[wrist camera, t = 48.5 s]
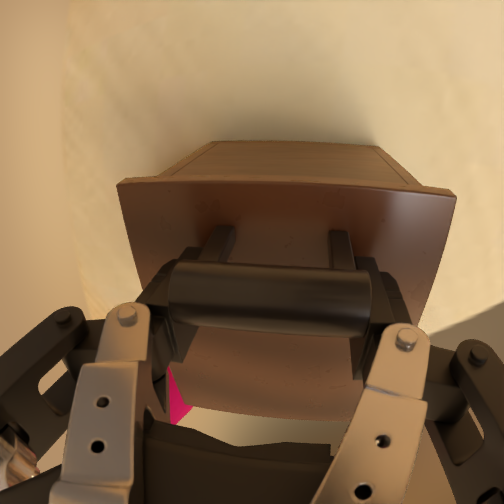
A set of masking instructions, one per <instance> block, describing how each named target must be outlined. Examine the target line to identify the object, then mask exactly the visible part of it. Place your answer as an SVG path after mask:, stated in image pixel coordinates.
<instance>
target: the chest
mask: <svg viewBox="0 0 504 504" xmlns="http://www.w3.org/2000/svg"><path fill="white" fill-rule="evenodd" d="M178 175H283V176H309V177H328V178H344V179H358V180H370V181H382V182H392V183H402V184H411V185H420V186H422V185H421V184H420V183H419V182H418V181H417V180H416V179H415V178H414V177H413V176H412V175H411V174H410V173H409V172H408V171H406V170H405V169H404V168H403V167H402V166H401V165H400V164H399V163H398V162H397V161H395V160H394V159H393V158H392V157H391V156H390V155H389V154H387V153H386V152H385V151H384V150H383V149H381V148H380V147H376V146H366V145H354V144H341V143H326V142H305V141H214V142H210V143H209V144H207V145H205V146H204V147H202V148H200V149H199V150H197V151H196V152H194V153H192V154H191V155H189V156H188V157H186V158H184V159H183V160H181V161H180V162H178V163H177V164H175V165H173V166H172V167H170V168H169V169H167V170H166V171H164V172H163V173H161V174H160V175H158V176H178Z"/></svg>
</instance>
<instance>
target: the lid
mask: <svg viewBox="0 0 504 504" xmlns="http://www.w3.org/2000/svg"><path fill="white" fill-rule="evenodd" d="M116 187H117V192H118V196H119V201H120V206H121V210H122V214H123V219H124V223H125V227H126V231H127V235H128V239H129V243H130V247H131V250H132V254H133V258H134V261H135V265H136V269H137V272H138V275H139V279H140V282H141V286H142V289H143V290H144V289H145V287H146V286H147V285H148V284H149V282H151V280H152V278H153V277H154V276H155V275H156V273H157V272H158V271H159V269H160V268H161V267H162V266H163V265H164V264H166V263H167V262H169V261H170V260H172V259H178V258H179V257H180V255H181V254H182V252H183V251H184V250H185V248H186V247H188V246H189V247H204V248H203V250H202V252H201V254H200V255H199V257H198V259H197V260H187V259H183V260H180V261H179V262H178V263H177V264H176V265H175V267H174V269H173V271H172V274H171V278H170V282H169V290H168V305H169V311H170V314H171V317H172V319H173V320H174V321H175V322H176V323H179V324H186V325H194V326H199V328H198V330H197V332H196V335H195V337H194V339H193V341H192V343H191V346H190V348H189V350H188V352H187V355H186V357H185V359H184V361H183V364H182V363H176V362H170V364H169V367H170V370H171V372H172V375H173V377H174V380H175V382H176V385H177V387H178V390H179V392H180V395H181V397H182V399H183V402H184V404H185V405H190V406H196V407H201V408H206V409H212V410H219V411H225V412H231V413H239V414H247V415H254V416H263V417H273V418H284V419H298V420H316V421H350V420H351V418H352V415H353V413H354V411H355V408H356V406H357V403H358V401H359V398H360V396H361V393H362V390H363V380H353V377H352V364H351V353H350V343H349V338H363V337H364V335H365V334H366V331H367V328H368V325H369V321H370V315H371V305H372V288H371V280H370V276H369V273H368V271H366V270H357V269H356V267H355V261H354V256H364V257H374V258H375V261H376V263H377V266H378V269H379V271H382V272H388V273H389V274H390V275H391V276H392V277H394V278H395V279H396V281H397V283H398V286H399V288H400V291H401V294H402V296H403V299H404V301H405V304H406V307H407V310H408V312H409V315H410V318H411V321H412V324H413V325H414V326H417V325H418V323H419V320H420V318H421V315H422V313H423V310H424V307H425V305H426V302H427V299H428V297H429V294H430V291H431V288H432V285H433V282H434V280H435V277H436V274H437V270H438V267H439V264H440V261H441V258H442V254H443V251H444V248H445V244H446V240H447V237H448V233H449V229H450V225H451V221H452V217H453V213H454V209H455V204H456V200H457V197H456V196H455V195H454V194H453V193H452V192H451V191H450V190H449V189H443V188H436V187H428V186H420V185H411V184H402V183H392V182H382V181H370V180H358V179H344V178H328V177H309V176H283V175H178V176H153V177H134V178H125V179H124V180H122V181H121V182H119V183H118V184H117V185H116Z"/></svg>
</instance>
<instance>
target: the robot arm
mask: <svg viewBox="0 0 504 504" xmlns="http://www.w3.org/2000/svg"><path fill="white" fill-rule="evenodd" d="M203 248H204V247H189V246H188V247H186V248H185V250H184V251H183V252H182V254H181V255H180V257H179V258H178V259H172V260H170V261H169V262H167V263H166V264H164V265H163V266H162V267H161V268H160V269H159V271H158V272H157V273H156V275H155V276H154V277H153V278H152V280H151V282H149V284H148V285H147V286H146V287H145V289H144V290H143V291H142V293H141V294H140V295H139V297H138V298H137V299H136V301H135V302H128V303H124V304H121V305H118V306H116V307H115V308H113V309H112V310H111V311H110V312H109V313H108V314H107V316H106V319H99V320H86V319H85V316H84V314H83V312H82V310H81V309H80V308H78V307H74V306H70V307H64V308H61V309H59V310H57V311H55V312H53V313H52V314H51V315H50V316H48V317H47V318H46V319H45V320H43V321H42V322H41V323H40V324H38V325H37V326H36V327H35V328H34V329H32V330H31V331H30V332H29V333H27V334H26V335H25V336H24V337H23V338H21V339H20V340H19V341H18V342H17V343H16V344H14V345H13V346H12V347H11V348H10V349H9V350H7V351H6V352H5V353H4V354H3V355H2V356H0V504H402V501H403V499H404V496H405V493H406V490H407V487H408V484H409V481H410V477H411V474H412V471H413V467H414V464H415V460H416V456H417V453H418V449H419V445H420V441H421V437H422V432H423V428H424V424H425V427H426V429H427V431H428V433H429V435H430V438H431V440H432V442H433V445H434V447H435V449H436V452H437V454H438V457H439V459H440V461H441V464H442V466H443V468H444V471H445V474H446V476H447V479H448V481H449V484H450V487H451V489H452V492H453V495H454V497H455V500H456V503H457V504H504V364H503V363H502V361H501V360H500V359H499V357H498V356H497V354H496V353H495V352H494V350H493V349H492V348H491V347H490V346H488V345H487V344H486V343H483V342H481V341H479V340H474V339H469V340H465V341H463V342H461V343H460V344H459V346H458V347H457V349H456V351H452V350H447V349H443V348H439V347H435V346H432V345H430V341H429V338H428V336H427V334H426V333H425V332H424V331H423V330H421V329H420V328H418V327H417V326H414V325H413V324H412V321H411V318H410V315H409V312H408V310H407V307H406V304H405V301H404V299H403V296H402V294H401V291H400V288H399V286H398V283H397V281H396V279H395V278H394V277H392V276H391V275H390V274H389V273H388V272H382V271H379V269H378V266H377V263H376V261H375V258H374V257H364V256H354V261H355V267H356V269H357V270H366V271H368V273H369V276H370V280H371V288H372V305H371V315H370V321H369V325H368V328H367V331H366V334H365V335H364V337H363V338H349V343H350V353H351V364H352V377H353V380H363V390H362V393H361V396H360V398H359V401H358V403H357V406H356V408H355V411H354V413H353V415H352V418H351V420H350V423H349V425H348V427H347V429H346V432H345V434H344V437H343V439H342V441H341V443H340V445H339V447H338V449H337V451H336V453H335V455H334V456H330V446H331V445H330V444H309V443H292V442H281V443H274V444H264V445H254V446H242V447H237V446H233V445H230V444H228V443H225V442H223V441H220V440H218V439H216V438H213V437H211V436H208V435H206V434H204V433H202V432H200V431H197V430H195V429H192V428H187V427H183V426H178V425H174V424H171V421H170V396H169V373H168V370H167V368H168V366H169V364H170V362H176V363H182V364H183V361H184V359H185V357H186V355H187V352H188V350H189V348H190V346H191V343H192V341H193V339H194V337H195V335H196V332H197V330H198V328H199V326H194V325H186V324H179V323H176V322H175V321H174V320H173V319H172V317H171V314H170V311H169V305H168V290H169V282H170V278H171V274H172V271H173V269H174V267H175V265H176V264H177V263H178V262H179V261H180V260H183V259H187V260H197V259H198V257H199V255H200V254H201V252H202V250H203ZM61 359H62V361H63V362H64V364H65V366H66V368H67V369H68V370H67V372H65V373H64V374H63V376H61V377H60V378H59V379H58V380H57V381H56V382H55V383H54V384H53V385H52V386H51V387H50V388H49V389H48V390H47V391H46V392H45V393H44V394H43V395H41V394H40V393H39V391H38V383H39V381H40V379H41V378H42V377H43V376H44V375H45V374H46V373H47V372H48V371H49V370H51V369H52V368H53V367H54V366H55V365H56V364H57V363H58V362H59V361H60V360H61ZM470 407H471V408H472V410H473V412H474V414H475V416H476V418H477V420H478V421H479V423H480V425H481V427H482V429H483V432H484V440H483V439H482V436H481V434H480V432H479V430H478V428H477V426H476V425H475V423H474V421H473V419H472V417H471V415H470V413H469V412H468V409H469V408H470ZM66 430H67V434H66V441H65V448H64V454H63V461H62V464H60V465H58V466H56V467H54V468H51V469H49V470H47V471H45V472H43V473H41V474H40V470H39V469H38V468H37V467H36V465H37V462H38V461H39V460H40V459H41V457H42V456H43V455H44V454H45V453H46V452H47V451H48V450H49V448H50V447H51V446H52V445H53V444H54V443H55V442H56V441H57V440H58V439H59V437H60V436H61V435H62V434H63V433H64V432H65V431H66Z"/></svg>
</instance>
